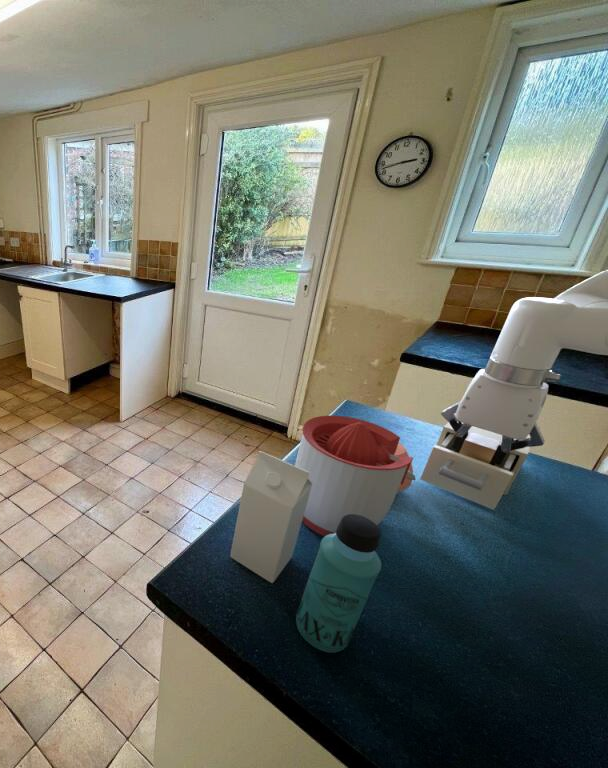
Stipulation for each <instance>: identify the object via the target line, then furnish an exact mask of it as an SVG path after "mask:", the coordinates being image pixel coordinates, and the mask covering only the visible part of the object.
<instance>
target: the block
mask: <svg viewBox="0 0 608 768" xmlns="http://www.w3.org/2000/svg"><path fill="white" fill-rule="evenodd" d="M500 442H501V441H498V440H495V439H492V438H489V437H485V436H482V435H479V434H476V433H473V432H470V434H469V435H468V436H467V438H466V439H465V441H464V443H463V445H462V448H461V450H460V452H459V453H460V454H462V455H465V456H468V457H471V458H474V459H476V460H479V461H482V462H485V463H488V464H490V462H491V460H492V458H493V455H494V453H495V451H496V450H497V448H498V446H499V445H500Z"/></svg>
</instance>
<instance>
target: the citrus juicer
mask: <svg viewBox="0 0 608 768" xmlns="http://www.w3.org/2000/svg"><path fill="white" fill-rule="evenodd" d="M301 431H302V437H301V438H300V439H301V440H300V443H299V446H298V447H299V448H298V452H297V456H296V460H295V462H294V463H295V464H294V466H297V467H299V468H301V469H304V470H306V471H308V472H309V476H308V479H309V480H310V482H311V483H312V487H311V491H310V494H309V498H308V502H307V505H306V509H305V512H304V516H303V519H302V523H303V524H304V525H305V526H306V527H307V528H309V529H310V530H312V531H313V532H314V533H317V534H319V535H321V537H325V536H326V535H329V534H333V533H336V529H337V526H338V525H339V523H340V521H341V519H342V518H343V517H344V516H345V515H348V514H356V515H360V516H363V517H366V518H368V519H370V520H371V521H373V522H374V523H375V524H376V525H377V526H378V525H379V524H380V523H381V522H382V521H383V520H384V519H385V517H386V516H387V514H388V512H389V510H390V509H391V507H392V505H393V503H394V501H395V499H396V496H397V493H398V492H397V491H398V488H399V486H400V484H402V485H403V482H404V480H405V478H407V479H411V480H412V481H414V482H416V475H415V474H414V473H413V474H412V473H411V472H410V470H409V467H410V465H411V463H412V462H413V459H414V457H413V456H409V457H397V456H395V455H394V454H395V452H396V449H397V446H398V443H400V439H401V436H399V435H397V434H396V433H394V432H393V431H391V430H390V429H387V428H386V427H383V426H380V425H379V424H376V423H373V422H371V421H367V420H364V419H359V418H355V417H351V416H345V415H319V416H315V417H312V418H310V419H308V420H306V422H304V424H303V426H302V428H301Z"/></svg>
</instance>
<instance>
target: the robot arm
mask: <svg viewBox="0 0 608 768" xmlns="http://www.w3.org/2000/svg"><path fill="white" fill-rule="evenodd" d="M562 349H567V350H575V351H578V352H585V353H589V354H595V355H602V356H608V269H606V270H604V271H601V272H599V273H597V274H595V275H593V276H591V277H588V278H587V279H585V280H583V281H581V282H580V283H577V284H575V285H573V286H572V287H570V288H567V290H564V291H563V292H561V293H560V294H558V295H556V296H555V297H554V298H550V297H537V296H532V297H531V296H529V297H523V298H520V299H518V300H516V301H515V302H514V303H513V305H512V306H511V308H510V310H509V313H508V315H507V318H506V319H505V322H504V324H503V326H502V329H501V331H500V334H499V336H498V338H497V340H496V343H495V345H494V347H493V349H492V352H491V354H490V356H489V359H488V361H487V364H486V366H485V368H481V369H479V370H478V371H477V372H476V374H475V376H474V377H473V379H472V380H471V381H470V383H469V385H468V386H467V388H466V391H465V393H464V394H463V396H462V398H461V400H460V401H459V402H457V403H454V404H453V405H451V406H449V407H447V408H444V409H443V410H442V411H441V412H440V416H442V418H444V420H446V421H447V422H449V423H450V425H451V427H452V428H453V429H454V431H455V432H456V436H457V437H456V439H455V442H454V444H453V446H452V449H455V452H457V453H459V452H460V450H461V448H462V445H463V443H464V441H465V439H466V438H467V436H468V430H469V429H470V428H471V427H472V426H474V427H477V428H480V429H484V430H487V431H490V432H493V433H497V434H500V435H502V443H501V445H499V446H498V448H497V450H496V451H495V453H494V455H493V458H492V460H491V462H490V465H493V466H495V464H498V465H501V463H502V461H503V459H504V457H505V455H506V453H507V452H510V451H512V450H516V449H521V448H525V447H531V448H533V447H540V446H541V447H542V446H543V445H544V444H545V442H546V440H545V438H544V436H543V434H542V432H541V430H540V429H539V428H538V427H539V425H538V424H537V421H538V419H539V417H540V414H541V412H542V410H543V408H544V405H545V402H546V400H547V399H546V398H547V397H548V393H549V384H548V383H547V382H554V383H558V382H559V380H561V379H560V378H561V377H562V374H560V373H557V372H555V371H554V370H553V369H552V367H553V366H554V363H555V362H556V359H557V358H558V356H559V354H560V352H561V350H562ZM455 413H456V415H454V414H455ZM461 422H463V424H462V423H461ZM528 435H530V437H531V438H526V437H527V436H528ZM525 438H526V439H525ZM514 439H517V440H514Z"/></svg>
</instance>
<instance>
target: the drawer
mask: <svg viewBox="0 0 608 768" xmlns="http://www.w3.org/2000/svg"><path fill="white" fill-rule="evenodd" d="M456 437H457V436H456V434H453V433H450V434H449V436H448V437H447V438H446V439H445V441H444V442H443V443H442V444H441V446H437V445H436V444H434V445H433V447H432V450H431V452H430V454H429V456H428V459H427V461H426V464H425V465H424V468H423V470H422V473H421V475H420V478H419V480H421V481H423V482H426V483H428V484H430V485H432V486H435V487H437V488H440V489H443V490H444V491H447V492H449V493H451V494H454V495H457V496H459V497H462V498H465V499H466V500H469V501H471V502H474V503H476V504H478V505H481V506H483V507H486V508H488V509H490V510H492V511H495V510H496V508H497V506H498V504H499V503H500V500H501V498H502V497H503V495H504V494H503V493H504V491H505V489H506V487H507V485H508V484H509V482H510V480H511V478H512V476H513V474H514V473H513V472H510V471H509V469H510V467H511V465H512V463H513V461H514V459H515V457H516V454H513V453H510V452H507V453H506V455H505V457H504V459H503V461H502V463H501V465H498V464H495V466H493V465H490V464H488V463H485V462H482V461H479V460H476V459H474V458H471V457H468V456H465V455H462V454H460V453H457V452H455V449H452V446H453V444H454V442H455V439H456Z"/></svg>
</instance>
